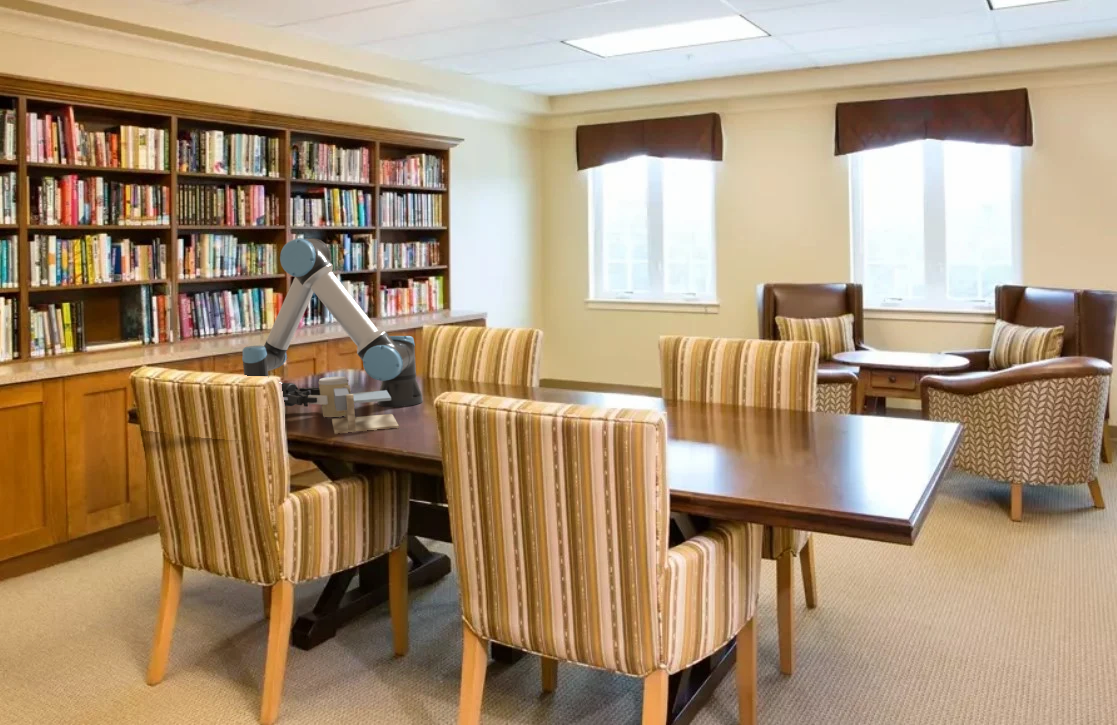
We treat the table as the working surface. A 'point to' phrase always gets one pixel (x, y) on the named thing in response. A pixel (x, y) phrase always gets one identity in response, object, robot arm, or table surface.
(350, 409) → the frame
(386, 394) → the trapdoor
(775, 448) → the table surface
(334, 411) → the coffee cup
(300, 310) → the robot arm
